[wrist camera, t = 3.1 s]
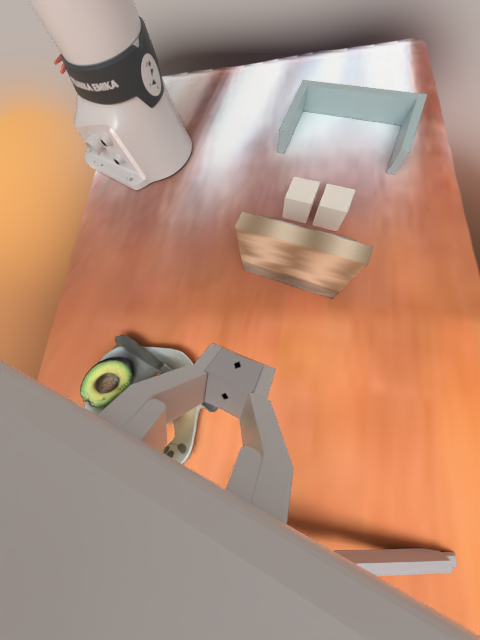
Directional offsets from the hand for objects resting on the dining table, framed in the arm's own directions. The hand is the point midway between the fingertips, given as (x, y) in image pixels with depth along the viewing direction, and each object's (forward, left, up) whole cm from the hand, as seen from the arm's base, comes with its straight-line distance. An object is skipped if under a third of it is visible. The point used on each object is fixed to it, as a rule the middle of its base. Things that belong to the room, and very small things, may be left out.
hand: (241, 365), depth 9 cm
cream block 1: (-3, +26, -19) cm, 33 cm away
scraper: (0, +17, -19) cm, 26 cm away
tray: (0, +43, -19) cm, 47 cm away
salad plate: (-13, -11, -20) cm, 26 cm away
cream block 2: (+2, +26, -19) cm, 33 cm away
